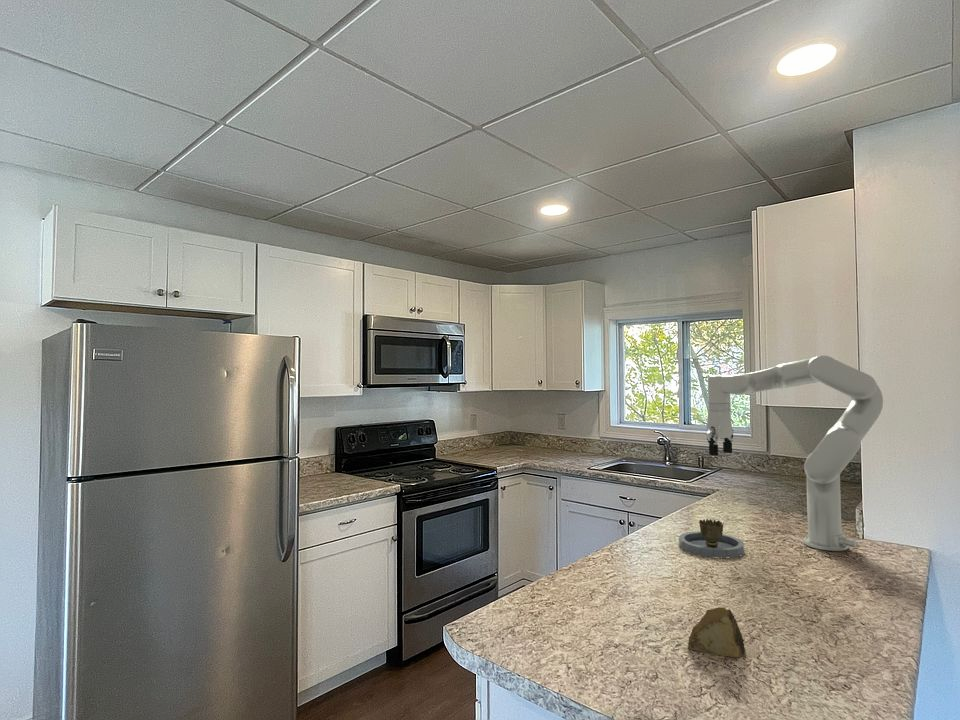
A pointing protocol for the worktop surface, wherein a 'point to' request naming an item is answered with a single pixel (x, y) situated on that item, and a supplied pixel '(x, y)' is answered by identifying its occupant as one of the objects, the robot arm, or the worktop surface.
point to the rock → (717, 634)
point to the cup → (711, 531)
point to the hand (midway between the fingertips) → (720, 454)
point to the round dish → (698, 546)
